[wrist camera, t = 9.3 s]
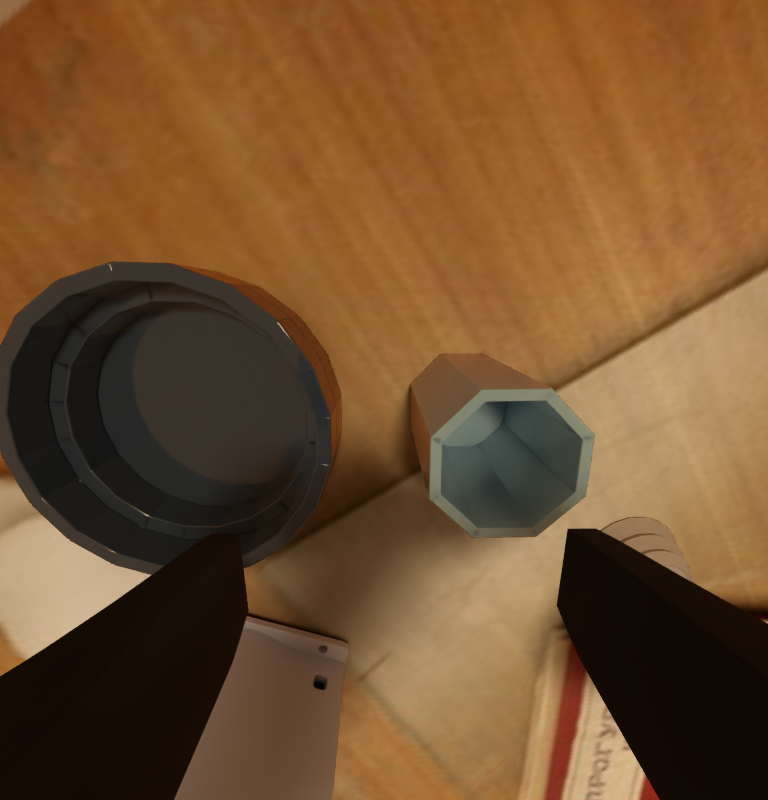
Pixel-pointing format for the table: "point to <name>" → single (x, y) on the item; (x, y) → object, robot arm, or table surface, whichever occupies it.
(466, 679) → the table surface
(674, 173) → the table surface
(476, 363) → the cup
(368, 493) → the table surface
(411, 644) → the table surface
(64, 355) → the bowl
